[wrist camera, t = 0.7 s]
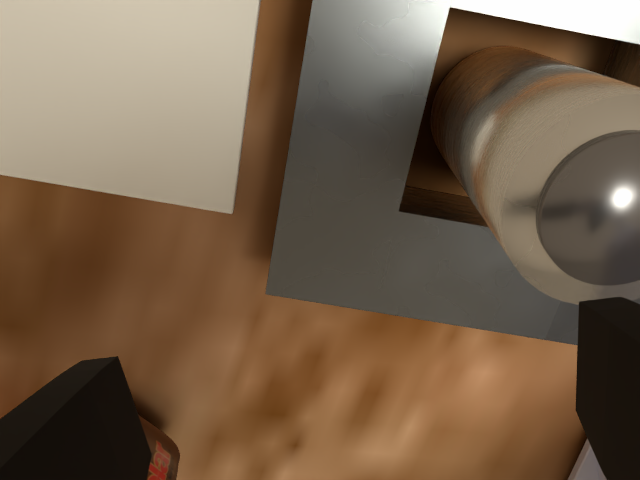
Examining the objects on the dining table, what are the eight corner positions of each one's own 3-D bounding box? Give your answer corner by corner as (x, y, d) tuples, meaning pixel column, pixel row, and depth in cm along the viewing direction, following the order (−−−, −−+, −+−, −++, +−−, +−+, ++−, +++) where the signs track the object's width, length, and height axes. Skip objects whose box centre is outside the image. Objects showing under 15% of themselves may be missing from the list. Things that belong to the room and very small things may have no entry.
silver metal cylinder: (583, 59, 17) (789, 120, 9) (538, 188, 19) (683, 329, 11) (450, 34, 17) (551, 75, 9) (416, 165, 18) (478, 295, 11)
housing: (780, -66, 16) (857, -74, 13) (611, 314, 20) (646, 356, 18) (340, -158, 15) (342, -184, 13) (272, 258, 20) (265, 294, 17)
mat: (273, -104, 15) (272, -105, 15) (234, 210, 19) (232, 214, 19) (-74, -174, 15) (-84, -179, 14) (-48, 161, 18) (-55, 165, 18)
